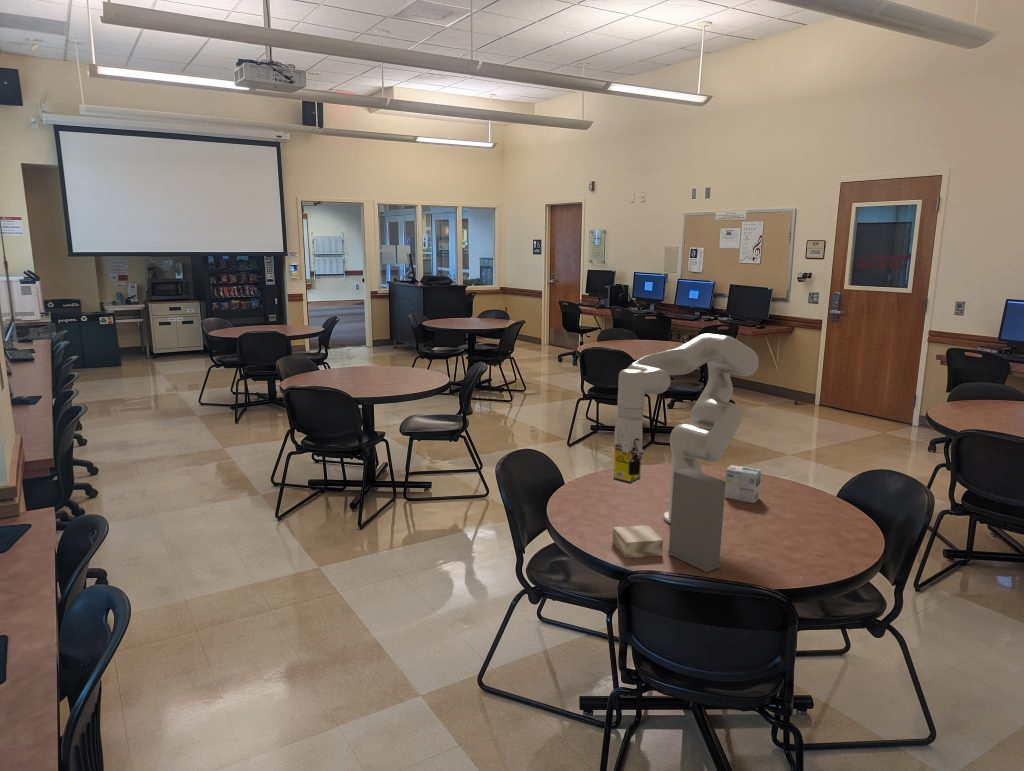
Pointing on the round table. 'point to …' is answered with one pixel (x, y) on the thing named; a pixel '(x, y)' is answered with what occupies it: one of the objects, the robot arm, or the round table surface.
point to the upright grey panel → (697, 519)
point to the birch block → (637, 541)
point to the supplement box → (623, 466)
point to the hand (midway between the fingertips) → (627, 469)
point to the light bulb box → (742, 483)
